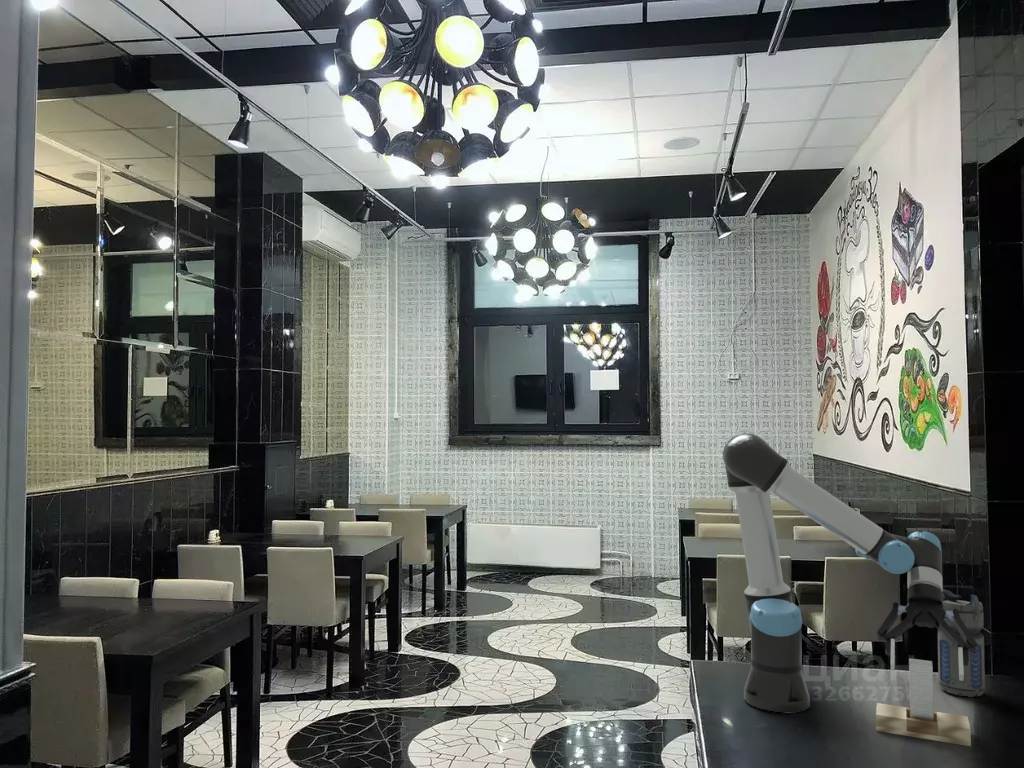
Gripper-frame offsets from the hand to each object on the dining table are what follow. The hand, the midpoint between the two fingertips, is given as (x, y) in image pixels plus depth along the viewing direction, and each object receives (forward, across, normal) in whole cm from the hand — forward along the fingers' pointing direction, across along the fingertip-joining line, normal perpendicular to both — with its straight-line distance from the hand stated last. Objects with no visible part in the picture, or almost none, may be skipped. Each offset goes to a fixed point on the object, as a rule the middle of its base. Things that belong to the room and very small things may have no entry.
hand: (926, 672), depth 175 cm
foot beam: (+11, +1, -6) cm, 12 cm away
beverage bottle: (-13, -8, -31) cm, 34 cm away
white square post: (+10, +1, -6) cm, 12 cm away
